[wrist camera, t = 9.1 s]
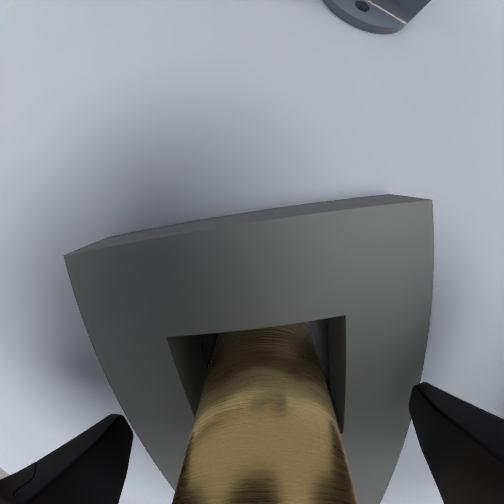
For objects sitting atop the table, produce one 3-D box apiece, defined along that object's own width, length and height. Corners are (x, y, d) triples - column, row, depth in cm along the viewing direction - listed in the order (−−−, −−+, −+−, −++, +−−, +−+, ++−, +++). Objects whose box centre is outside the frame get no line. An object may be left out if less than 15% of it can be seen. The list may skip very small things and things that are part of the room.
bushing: (309, 298, 11) (378, 493, 3) (315, 379, 12) (352, 548, 4) (206, 312, 11) (132, 502, 3) (226, 390, 12) (198, 557, 4)
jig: (389, 194, 10) (432, 199, 7) (361, 497, 15) (368, 525, 12) (107, 237, 10) (63, 255, 8) (222, 512, 15) (218, 541, 12)
